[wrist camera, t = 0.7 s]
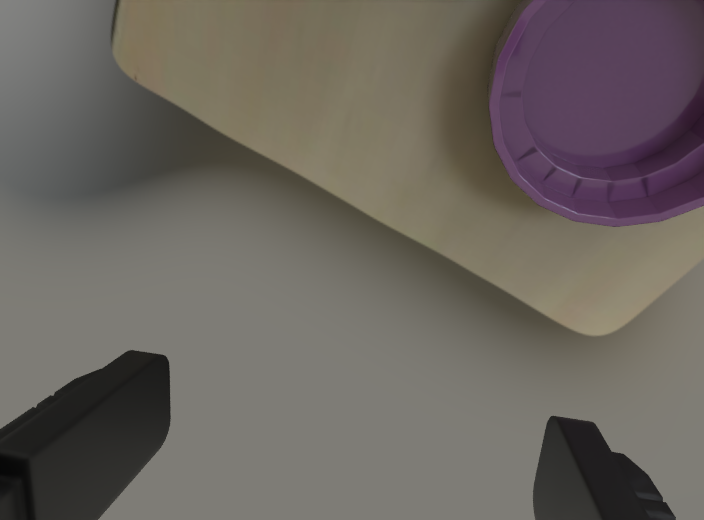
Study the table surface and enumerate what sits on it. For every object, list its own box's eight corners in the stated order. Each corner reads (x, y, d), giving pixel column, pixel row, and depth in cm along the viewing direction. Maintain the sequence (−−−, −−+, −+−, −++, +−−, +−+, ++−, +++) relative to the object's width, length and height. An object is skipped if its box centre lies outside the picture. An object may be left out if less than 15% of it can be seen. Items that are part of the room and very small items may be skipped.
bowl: (473, -22, 31) (472, -22, 26) (781, -114, 25) (855, -136, 20) (502, 205, 38) (505, 240, 33) (747, 170, 33) (796, 205, 28)
